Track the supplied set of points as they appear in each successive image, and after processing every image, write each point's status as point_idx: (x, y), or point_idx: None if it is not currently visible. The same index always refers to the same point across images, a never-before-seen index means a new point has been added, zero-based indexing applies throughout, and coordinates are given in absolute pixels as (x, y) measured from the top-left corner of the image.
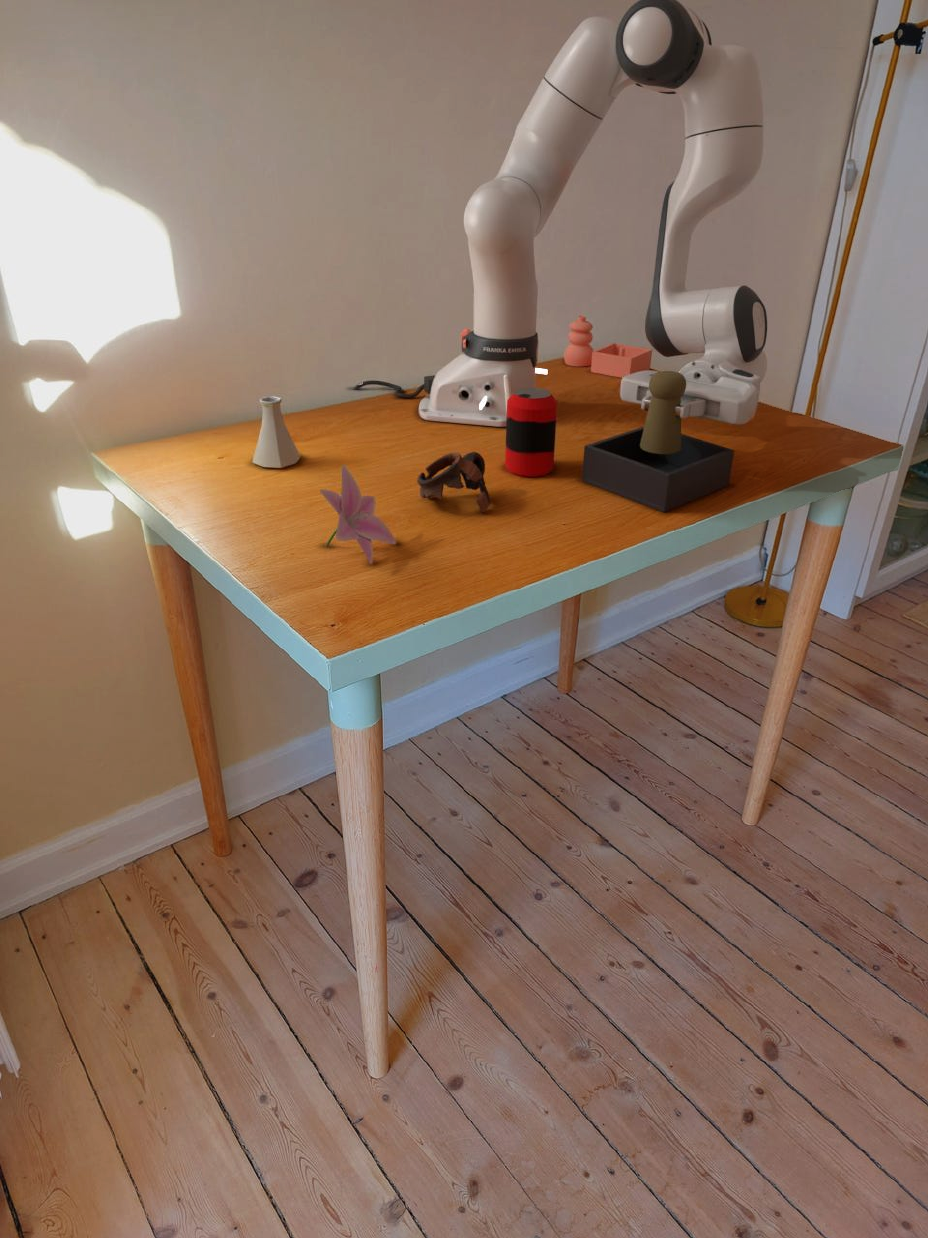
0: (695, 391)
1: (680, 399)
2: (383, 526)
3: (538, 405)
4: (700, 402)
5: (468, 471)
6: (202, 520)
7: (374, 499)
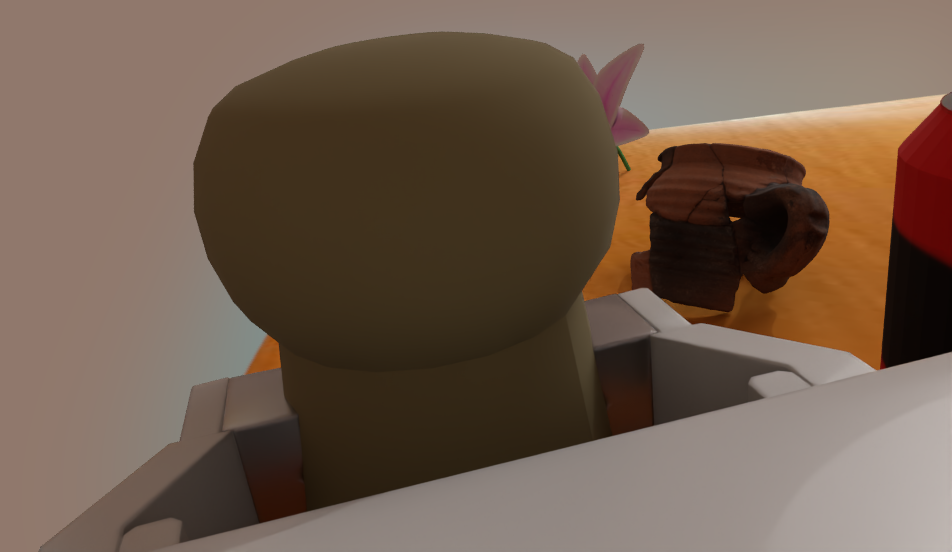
0: (216, 549)
1: (290, 375)
2: None
3: (913, 134)
4: (64, 531)
5: (662, 177)
6: (806, 119)
7: (645, 134)
